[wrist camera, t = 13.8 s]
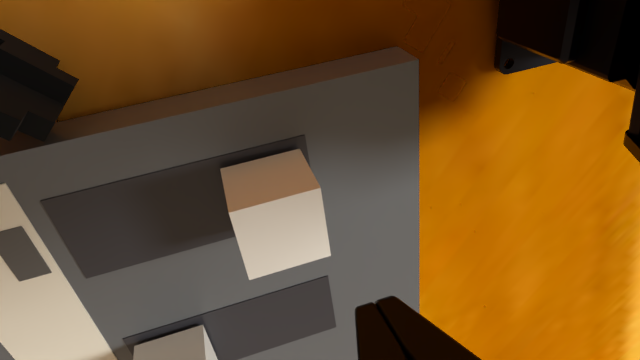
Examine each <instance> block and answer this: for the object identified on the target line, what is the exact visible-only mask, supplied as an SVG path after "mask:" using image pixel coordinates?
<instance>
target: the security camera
mask: <svg viewBox="0 0 640 360" xmlns="http://www.w3.org/2000/svg"><path fill="white" fill-rule="evenodd" d="M59 62H60V61H59V60H57V59H55V58H54V57H52V56H50V55H48V54H46V53H44V52H42V51H40V50H39V49H37V48H35V47H33V46H31V45H29V44H27V43H25V42H23V41H22V40H20V39H18V38H16V37H14V36H12V35H10V34H8V33H7V32H5V31H3V30H1V29H0V137H1V138H3V139H5V140H8V141H11V139H12V138H13V136H14V135H15V133H16V132H17V131H20V132H22V133H24V134H26V135H29V136H31V137H33V138H36V139H38V140H40V141H43V142H44V141H45V140H46V138H47V136H48V134H49V132H50V131H51V129H52V127H53V125H54V124H55V122H56V120H57V118H58V116H59V114H60V112H61V110H62V109H63V107H64V105H65V103H66V101H67V100H68V98H69V96H70V94H71V92H72V91H73V89H74V87H75V85H76V83H77V81H78V80H79V79H77V78H75V77H73V76H71V75H69V74H67V73H65V72H63V71H62V70H60V69H58V68H56V67H57V65H58V64H59Z"/></svg>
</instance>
